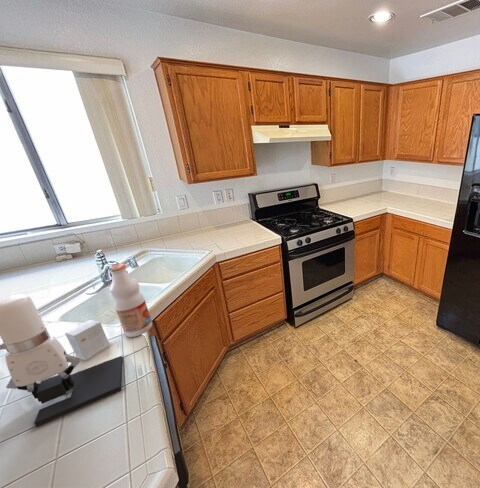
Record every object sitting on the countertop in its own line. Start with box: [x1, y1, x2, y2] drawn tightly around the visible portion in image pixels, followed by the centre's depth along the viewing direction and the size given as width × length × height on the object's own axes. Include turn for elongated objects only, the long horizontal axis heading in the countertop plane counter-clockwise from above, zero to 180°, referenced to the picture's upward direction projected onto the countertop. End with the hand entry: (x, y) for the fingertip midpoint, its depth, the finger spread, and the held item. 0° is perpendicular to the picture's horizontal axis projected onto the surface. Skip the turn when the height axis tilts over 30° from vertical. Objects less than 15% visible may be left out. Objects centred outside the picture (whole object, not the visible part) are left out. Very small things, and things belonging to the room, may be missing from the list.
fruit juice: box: [108, 263, 153, 338], centre depth 100 cm, size 9×9×28 cm
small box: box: [64, 319, 111, 361], centre depth 93 cm, size 8×6×10 cm
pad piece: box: [36, 374, 68, 405], centre depth 74 cm, size 5×5×4 cm
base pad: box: [33, 355, 124, 428], centre depth 79 cm, size 18×16×2 cm
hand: (55, 391), depth 75 cm, fingers closed on pad piece, 5 cm apart
